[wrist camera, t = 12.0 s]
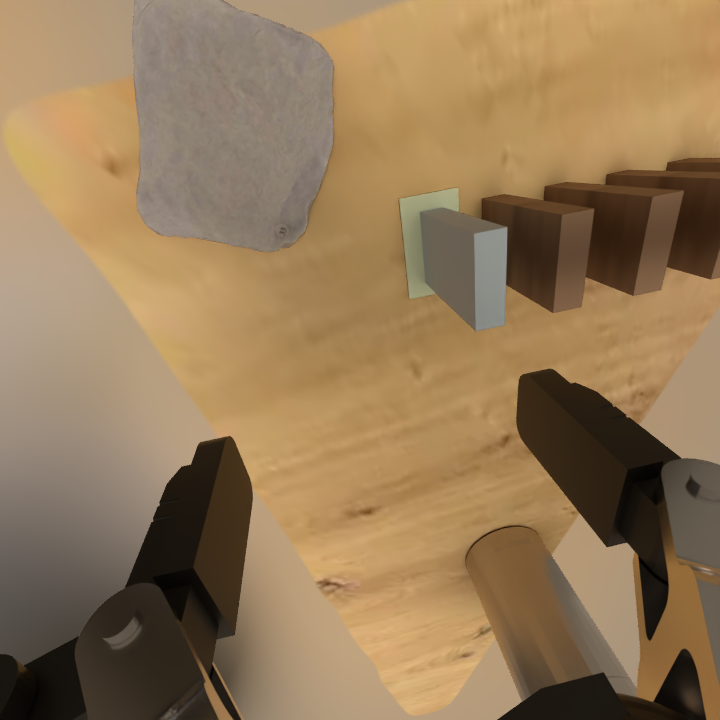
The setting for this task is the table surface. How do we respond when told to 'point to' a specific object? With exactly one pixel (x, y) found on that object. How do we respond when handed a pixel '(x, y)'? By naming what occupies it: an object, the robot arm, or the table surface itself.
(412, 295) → the pad
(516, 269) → the domino
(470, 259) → the domino
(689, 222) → the domino
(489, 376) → the table surface
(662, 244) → the domino
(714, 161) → the domino
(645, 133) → the table surface
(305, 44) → the stone block
